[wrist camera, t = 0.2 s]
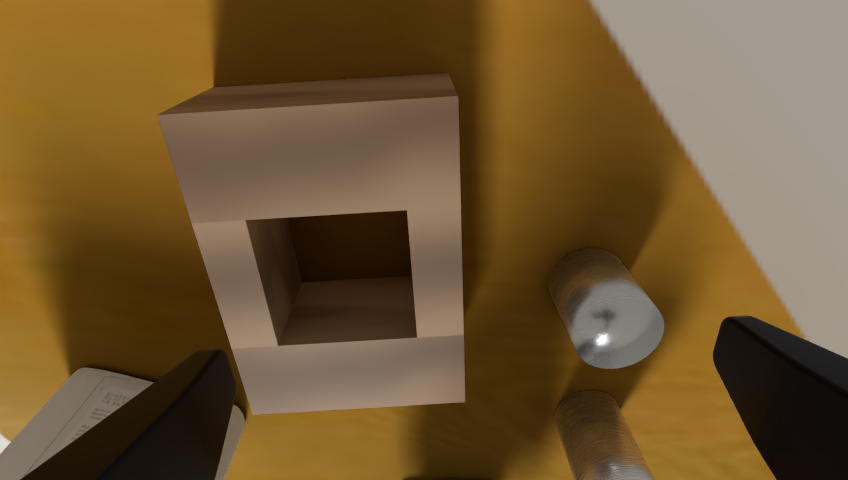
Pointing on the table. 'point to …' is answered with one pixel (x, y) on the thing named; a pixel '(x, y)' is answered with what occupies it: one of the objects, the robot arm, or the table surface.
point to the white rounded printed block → (87, 420)
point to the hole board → (328, 195)
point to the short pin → (604, 309)
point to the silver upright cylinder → (598, 439)
